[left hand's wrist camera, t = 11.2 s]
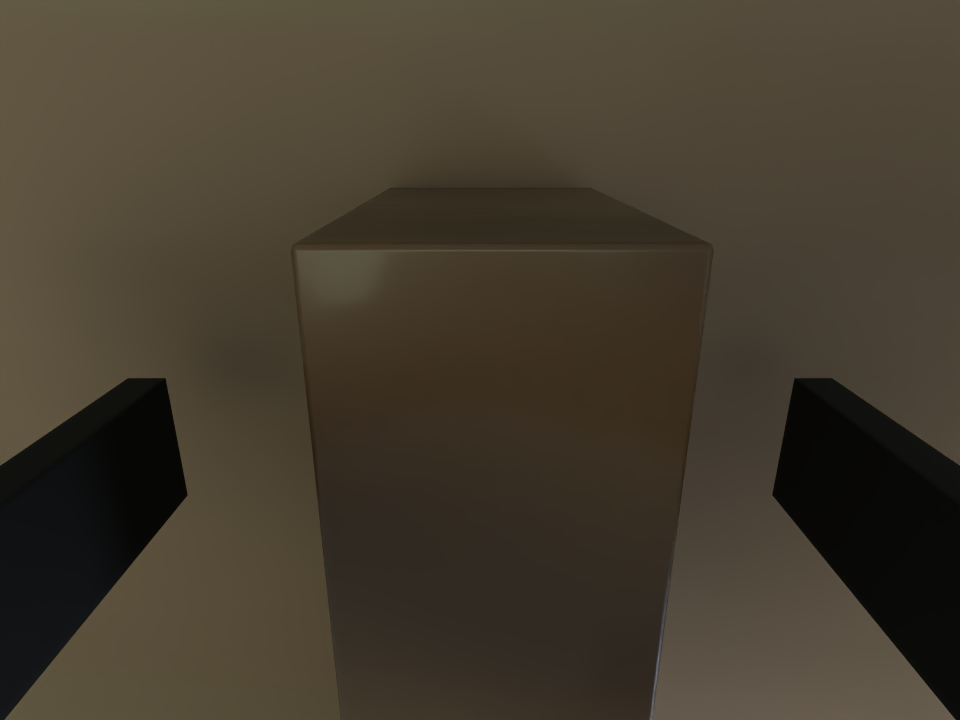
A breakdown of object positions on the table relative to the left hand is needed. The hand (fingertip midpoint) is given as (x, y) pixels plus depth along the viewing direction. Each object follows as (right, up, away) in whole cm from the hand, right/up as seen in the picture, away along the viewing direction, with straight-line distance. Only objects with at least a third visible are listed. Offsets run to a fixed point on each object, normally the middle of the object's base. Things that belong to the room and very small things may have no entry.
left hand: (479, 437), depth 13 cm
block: (0, -22, +12) cm, 25 cm away
